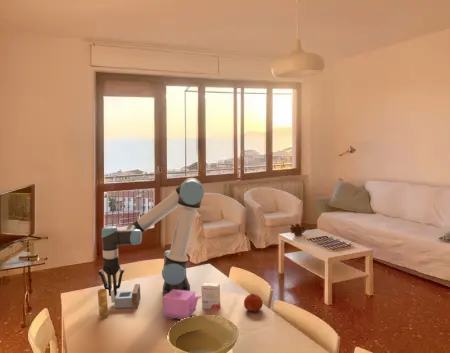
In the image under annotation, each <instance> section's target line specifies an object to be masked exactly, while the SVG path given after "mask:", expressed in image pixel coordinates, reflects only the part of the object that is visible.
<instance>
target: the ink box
mask: <svg viewBox="0 0 450 353" xmlns="http://www.w3.org/2000/svg"><path fill="white" fill-rule="evenodd" d="M220 286H221V285H220V283H219V282H205V281H204V282H203V283H202V284H201V287H200V288H201V289H200V291H201V296H202V297H201V307H202V310H205V309H206V310H207V309H208V310H220V307H221V287H220Z"/></svg>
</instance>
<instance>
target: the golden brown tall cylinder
mask: <svg viewBox="0 0 450 353" xmlns="http://www.w3.org/2000/svg"><path fill="white" fill-rule="evenodd" d="M107 290H108V289H105V288H100V289H98V290H97V300H98V315H99V316H98V317H100V319H102V318H103V319H106V318H108V317H109V311H108V310H109V308H108V296H107V294H108V293H107V292H108V291H107Z"/></svg>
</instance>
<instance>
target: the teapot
mask: <svg viewBox="0 0 450 353" xmlns="http://www.w3.org/2000/svg"><path fill="white" fill-rule="evenodd" d="M199 299H202V295H196V292H195V291H192V290H190V291H185V290H176V289H173V290H171V291H170V292H169V293H167V294H164V295H163V296H162V304H163V306H162V307H163V317H166V318H168V319H169V320H174V319H179V320H180V321H181V319H184V318H187V317H189V318H190V317H191V316H192V315H193V314H194V313H195V311H197V305H198V304H197V303H198V300H199Z"/></svg>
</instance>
